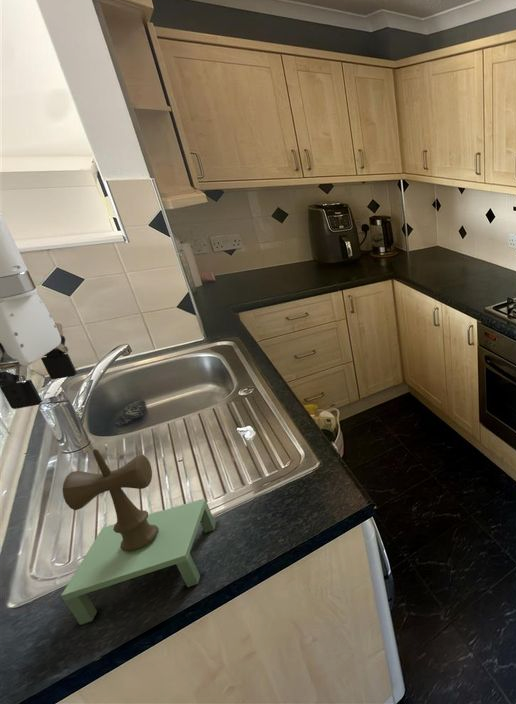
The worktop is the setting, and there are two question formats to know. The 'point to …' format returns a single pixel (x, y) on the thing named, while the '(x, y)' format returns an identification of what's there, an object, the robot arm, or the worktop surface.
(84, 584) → the spice shelf
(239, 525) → the worktop surface
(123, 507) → the kendama
